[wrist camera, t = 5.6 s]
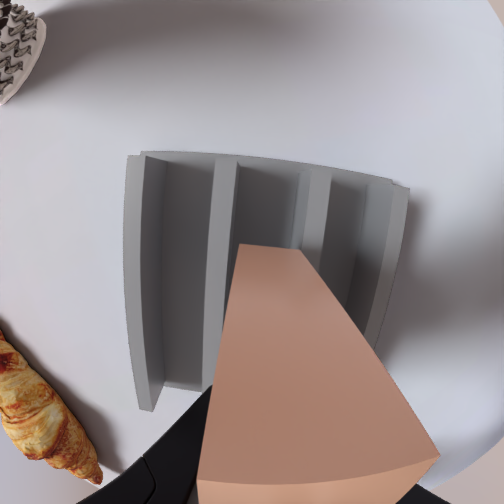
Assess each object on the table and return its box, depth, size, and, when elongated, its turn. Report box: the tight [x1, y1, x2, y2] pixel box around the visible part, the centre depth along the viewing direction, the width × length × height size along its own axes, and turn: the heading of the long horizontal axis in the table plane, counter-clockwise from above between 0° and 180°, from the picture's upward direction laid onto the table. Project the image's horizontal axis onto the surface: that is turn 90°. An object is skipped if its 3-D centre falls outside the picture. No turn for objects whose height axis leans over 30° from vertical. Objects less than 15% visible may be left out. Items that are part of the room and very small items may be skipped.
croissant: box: [0, 330, 103, 485], centre depth 16 cm, size 21×10×8 cm, turn 23°
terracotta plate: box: [197, 244, 440, 504], centre depth 6 cm, size 7×2×8 cm, turn 174°
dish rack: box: [123, 151, 410, 412], centre depth 13 cm, size 14×13×4 cm
